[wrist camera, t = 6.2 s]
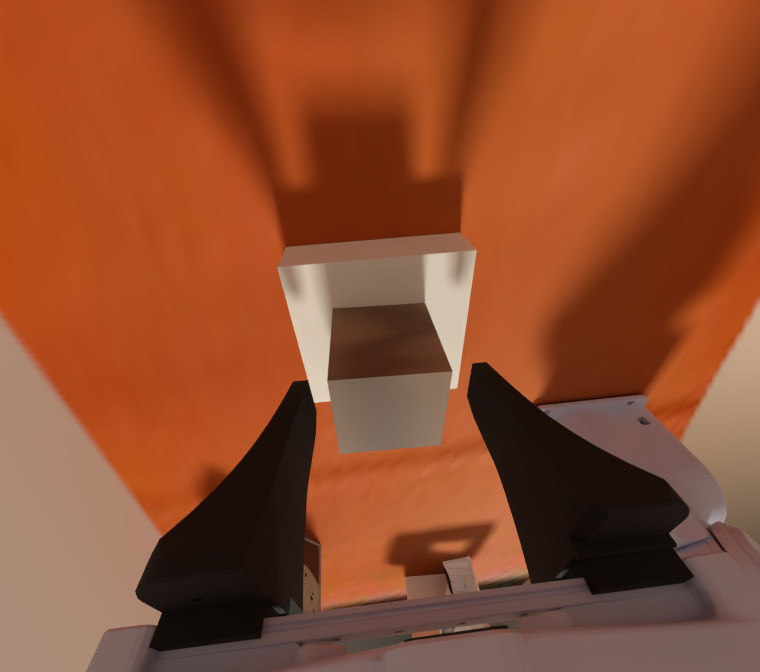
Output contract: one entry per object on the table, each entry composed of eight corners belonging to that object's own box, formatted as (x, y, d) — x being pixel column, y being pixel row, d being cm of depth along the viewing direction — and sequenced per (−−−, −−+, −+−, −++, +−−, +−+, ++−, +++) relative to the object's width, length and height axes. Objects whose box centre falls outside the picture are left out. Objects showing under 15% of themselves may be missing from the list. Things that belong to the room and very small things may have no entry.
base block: (457, 229, 16) (476, 250, 14) (444, 357, 22) (457, 388, 19) (287, 243, 16) (277, 267, 13) (318, 369, 21) (314, 402, 19)
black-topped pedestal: (555, 519, 40) (630, 666, 30) (495, 584, 56) (530, 696, 45) (343, 532, 37) (342, 703, 26) (341, 597, 52) (340, 722, 42)
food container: (213, 532, 33) (171, 666, 25) (256, 514, 32) (226, 651, 24) (290, 561, 40) (275, 675, 32) (328, 548, 38) (323, 663, 30)
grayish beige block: (424, 303, 15) (452, 371, 11) (419, 370, 18) (440, 444, 14) (332, 308, 15) (327, 380, 11) (341, 376, 18) (339, 453, 14)
